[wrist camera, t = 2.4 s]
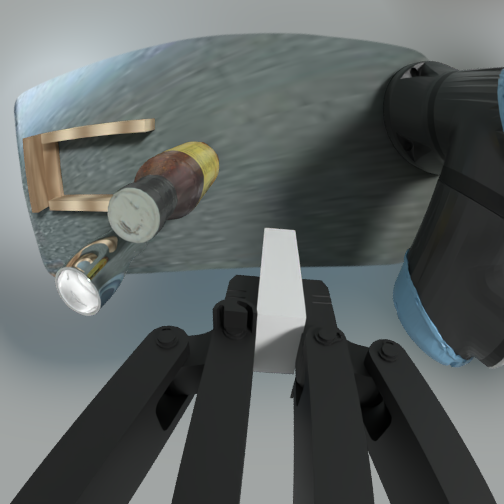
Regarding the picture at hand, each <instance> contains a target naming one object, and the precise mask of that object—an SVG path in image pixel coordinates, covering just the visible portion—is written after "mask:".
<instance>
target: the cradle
mask: <svg viewBox="0 0 504 504" xmlns="http://www.w3.org/2000/svg"><path fill="white" fill-rule="evenodd" d="M151 130H155V119H141V120H129V121H119V122H110V123H102V124H95V125H88V126H81V127H75V128H69V129H63V130H58V131H53V132H48V133H43V134H38V135H35V136H31V137H27V138H24V139H23V149H24V160H25V169H26V177H27V184H28V190H29V196H30V202H31V207H32V213H38V212H40V211H42V210H43V209H45V208H47V207H48V206H49V207H50V210H62V211H105V212H108V206H109V201H110V199H111V197H112V196H113V195H64V192H63V185H62V177H61V168H60V157H59V145H58V141H63V140H70V139H77V138H84V137H92V136H101V135H111V134H122V133H135V132H147V131H151Z"/></svg>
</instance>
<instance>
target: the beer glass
mask: <svg viewBox="0 0 504 504" xmlns="http://www.w3.org/2000/svg"><path fill="white" fill-rule="evenodd" d="M147 242H148V241H147ZM147 242H145V243H132V242H129V241H126V240H124V239H122V238H121V237H119V236H118V235H117V234H116V233H115V232H114V230H113V229H112V228H111V230H110V231H109V232H108V233H106V234H105V235H103V236H101V237H99V238H97V239H95V240H93V241H91V242H89V243H87V244H86V245H84V246H83V247H82V248H80V249H79V250H78V251H77V252H76V253H74V254H73V255H72V256H71V257H70V259H69V260H68V261H67V262H66V263H65V264H64V265H63V267H62V268H61V269H60V270H59V271H58V272H57V274H56V277H55V284H56V288H57V291H58V293H59V295H60V297H61V299H62V300H63V301H64V302H65V303H66V305H67V306H68V307H70V308H71V309H72V310H73V311H75V312H77V313H79V314H81V315H84V316H92V315H95V314H97V313H98V312H99V310H100V309H101V308H102V306H103V305H104V304H105V303H106V302H107V301H108V300H109V299H110V298H111V297H112V295H113V294H114V293H115V292H116V290H117V288H118V287H119V286H120V284H121V282H122V280H123V278H124V276H125V274H126V272H127V270H128V268H129V265H130V263H131V261H132V260H133V259H134V258H135V257H136V256H138V255H139V254H140V253H142V252H143V251H144V250H145V248H146V246H147Z"/></svg>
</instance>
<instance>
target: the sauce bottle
mask: <svg viewBox="0 0 504 504" xmlns="http://www.w3.org/2000/svg"><path fill="white" fill-rule="evenodd" d="M218 172H219V159H218V156H217V154H216V153H215V151H214V150H213V149H212V148H211V147H209V146H208V145H207V144H205V143H203V142H202V143H201V142H187V143H185V144H182V145H179V146H177V147H174V148H172V149H169V150H167V151H164V152H162V153H160V154H158V155H156V156H155V157H152V158H151V159H149V160H148V161H147V162H145V163H144V164H143V165H142V166H141V168H140V169H139V171H138V172H137V174H136V177H135V180H134V183H131V184H128V185H126V186H124V187H123V188H121V189H120V190H118V191H117V192H116V193H114V195H113V196H112V197H111V199H110V201H109V206H108V214H107V215H108V220H109V222H110V225H111V227H112V229H113V230H114V232H115V233H116V234H117V235H118V236H119V237H121V238H122V239H124V240H126V241H129V242H132V243H145V242H147V241H149V240H151V239H152V238H153V237H154V236H155V235H156V234H157V233H158V232H159V231H160V230H161V229H162V227H163V225H164V223H165V220H172V219H179V218H182V217H184V216H186V215H187V214H189V213H190V212H191V211H192V210H193V209H194V208H195V207H196V206H197V204H198V203H199V201H200V200H201V198H202V197H203V196H204V194H205V193H206V192H207V191H208V189H209V188H210V186H211V185H212V184H213V182H214V181H215V179H216V177H217V175H218Z"/></svg>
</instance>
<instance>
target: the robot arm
mask: <svg viewBox="0 0 504 504" xmlns="http://www.w3.org/2000/svg"><path fill="white" fill-rule="evenodd" d="M384 120H385V125H386V129H387V132H388V135H389V137H390V139H391V141H392V143H393V145H394V146H395V148H396V149H397V151H398V152H399V153H400V154H401V155H402V156H403V157H404V158H405V159H406V160H407V161H408V162H409V163H411V164H412V165H414V166H416V167H418V168H420V169H422V170H424V171H426V172H429V173H432V174H439V175H440V177H439V179H438V181H437V184H436V187H435V190H434V193H433V195H432V198H431V201H430V204H429V206H428V209H427V211H426V214H425V216H424V219H423V221H422V223H421V226H420V228H419V230H418V232H417V235H416V237H415V239H414V241H413V244H412V246H411V248H409V249H408V250H407V251H406V253H405V256H404V263H403V266H402V268H401V270H400V273H399V275H398V277H397V280H396V282H395V285H394V289H393V301H394V305H395V308H396V310H397V315H398V318H399V320H400V322H401V324H402V326H403V327H404V329H405V330H406V332H407V333H408V335H409V336H410V337H411V339H412V340H413V341H414V342H415V343H416V344H417V346H419V348H420V349H422V350H423V351H424V352H425V353H426V354H427V355H428V356H430V357H431V358H432V359H434V360H436V361H437V362H439V363H441V364H443V365H449V364H450V365H451V367H461V366H463V365H465V364H466V363H469V362H470V361H471V360H472V359H473V358H474V357H475V358H477V359H478V360H479V361H481V362H482V363H483V364H485V365H486V366H487V367H489V368H490V369H494V368H497V367H500V366H503V365H504V67H499V68H498V67H497V68H480V69H469V70H458V69H455V68H453V67H450V66H448V65H446V64H443V63H440V62H435V61H422V62H417V63H413V64H410V65H408V66H406V67H404V68H402V69H401V70H400V71H398V72H397V73H396V74H395V76H394V77H393V78H392V80H391V81H390V83H389V85H388V87H387V90H386V93H385V98H384ZM295 369H296V370H295ZM294 370H295V371H296V377H295V381H294V385H293V389H292V393H291V398H293V397H294V485H293V486H294V487H293V504H374V495H373V486H372V478H371V470H370V463H369V455H368V452H369V454H370V456H371V459H372V461H373V463H374V466H375V468H376V470H377V473H378V475H379V477H380V480H381V482H382V484H383V487H384V489H385V491H386V494H387V496H388V499H389V501H390V503H391V504H496V501H495V499H494V497H493V495H492V493H491V491H490V489H489V487H488V485H487V483H486V481H485V480H484V478H483V476H482V474H481V472H480V470H479V468H478V466H477V465H476V463H475V461H474V459H473V457H472V456H471V454H470V452H469V450H468V448H467V447H466V445H465V443H464V442H463V440H462V438H461V436H460V435H459V433H458V431H457V430H456V428H455V426H454V425H453V423H452V422H451V420H450V418H449V417H448V415H447V413H446V412H445V410H444V408H443V407H442V406H441V404H440V402H439V401H438V399H437V398H436V396H435V394H434V393H433V391H432V390H431V388H430V387H429V385H428V384H427V382H426V381H425V379H424V378H423V376H422V375H421V373H420V372H419V370H418V369H417V367H416V366H415V364H414V363H413V361H412V360H411V358H410V357H409V356H408V354H407V353H406V351H405V350H404V349H403V348H402V347H401V346H400V345H399V344H398V343H396V342H394V341H391V340H387V339H383V340H377V341H375V342H373V343H372V344H371V346H370V347H369V348H368V347H365V346H361V345H357V344H354V343H351V342H349V341H348V340H346V337H345V335H344V333H343V332H342V331H341V330H339V329H338V328H337V324H336V320H335V315H334V311H333V307H332V304H331V298H330V294H329V291H328V287H327V286H326V285H325V284H324V283H323V282H322V281H320V280H307V279H302V277H301V270H300V262H299V254H298V247H297V240H296V233H295V230H286V229H273V228H265V230H264V241H263V252H262V262H261V273H260V277H256V276H244V275H236V276H235V277H233V278H232V279H231V280H230V282H229V285H228V289H227V293H226V297H225V300H222V301H220V302H218V303H217V304H216V305H215V306H214V308H213V330H211V331H210V332H207V333H205V334H200V335H194V336H188V335H187V334H186V333H185V331H184V330H182V329H180V328H178V327H174V326H162V327H159V328H157V329H154V330H153V331H152V332H151V333H149V335H148V336H147V337H146V338H145V339H144V340H143V341H142V343H141V344H140V345H139V346H138V347H137V349H136V350H135V351H134V352H133V353H132V354H131V356H129V358H128V359H127V360H126V361H125V362H124V364H123V365H122V366H121V367H120V368H119V369H118V371H117V372H116V373H115V374H114V375H113V377H112V378H111V379H110V380H109V381H108V382H107V384H106V385H105V386H104V387H103V388H102V390H101V391H100V392H99V393H98V394H97V396H96V397H95V398H94V399H93V400H92V401H91V403H90V404H89V405H88V406H87V408H86V409H85V410H84V411H83V412H82V414H81V415H80V416H79V417H78V418H77V420H76V421H75V422H74V423H73V425H72V426H71V427H70V428H69V430H68V431H67V432H66V433H65V435H63V437H62V438H61V439H60V440H59V442H58V443H57V444H56V445H55V447H54V448H53V449H52V450H51V452H50V453H49V454H48V456H47V457H46V458H45V459H44V460H43V462H42V463H41V464H40V466H39V467H38V468H37V469H36V471H35V472H34V473H33V475H32V476H31V477H30V478H29V480H28V481H27V482H26V483H25V485H24V486H23V487H22V489H21V490H20V491H19V493H18V494H17V495H16V497H15V498H14V499H13V501H12V502H11V503H10V504H128V503H129V501H130V500H131V498H132V496H133V495H134V494H135V492H136V490H137V489H138V487H139V486H140V484H141V482H142V481H143V479H144V478H145V476H146V474H147V473H148V471H149V470H150V468H151V466H152V465H153V463H154V461H155V460H156V458H157V457H158V455H159V453H160V452H161V450H162V449H163V447H164V445H165V443H166V442H167V440H168V439H169V437H170V435H171V434H172V432H173V430H174V429H175V427H176V425H177V424H178V422H179V420H180V419H181V417H182V415H183V414H184V412H185V410H186V409H187V407H188V405H189V404H190V402H191V400H192V399H193V397H194V395H195V394H197V397H196V401H195V405H194V409H193V413H192V418H191V422H190V426H189V430H188V434H187V438H186V443H185V447H184V451H183V455H182V460H181V464H180V468H179V473H178V477H177V481H176V485H175V490H174V494H173V499H172V503H171V504H240V495H241V486H242V476H243V466H244V457H245V447H246V437H247V427H248V418H249V408H250V398H251V387H252V375H253V371H254V372H266V373H282V374H294Z"/></svg>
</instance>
